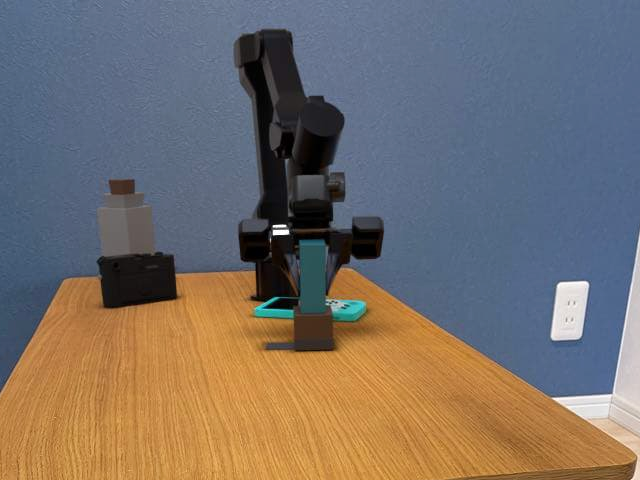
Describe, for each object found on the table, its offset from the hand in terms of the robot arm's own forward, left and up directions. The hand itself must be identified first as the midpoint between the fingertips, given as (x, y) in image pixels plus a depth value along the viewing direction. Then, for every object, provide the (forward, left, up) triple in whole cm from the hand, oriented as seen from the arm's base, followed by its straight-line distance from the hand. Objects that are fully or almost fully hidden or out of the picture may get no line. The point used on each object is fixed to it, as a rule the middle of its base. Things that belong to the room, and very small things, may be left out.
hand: (312, 294), depth 109 cm
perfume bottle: (-56, +20, -7) cm, 60 cm away
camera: (-44, +10, -7) cm, 46 cm away
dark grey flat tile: (-4, -1, -7) cm, 8 cm away
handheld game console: (-13, +18, -7) cm, 24 cm away
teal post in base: (-1, +1, -7) cm, 7 cm away
